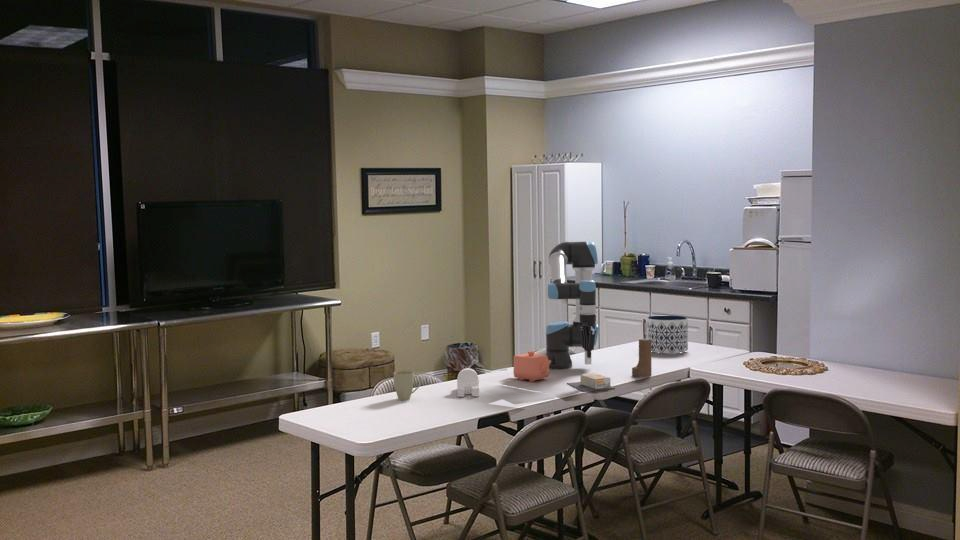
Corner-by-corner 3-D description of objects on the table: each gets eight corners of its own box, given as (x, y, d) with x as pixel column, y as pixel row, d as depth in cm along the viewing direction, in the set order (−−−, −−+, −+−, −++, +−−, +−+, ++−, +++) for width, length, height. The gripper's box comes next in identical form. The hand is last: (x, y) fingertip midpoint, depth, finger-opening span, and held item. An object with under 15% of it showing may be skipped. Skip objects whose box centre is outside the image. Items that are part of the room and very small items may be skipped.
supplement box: (580, 384, 403) (595, 389, 391) (580, 374, 403) (595, 379, 391) (595, 383, 406) (610, 388, 394) (595, 372, 406) (610, 377, 394)
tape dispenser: (457, 396, 385) (457, 372, 384) (457, 388, 403) (457, 365, 402) (479, 396, 385) (478, 372, 384) (478, 388, 403) (477, 365, 402)
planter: (647, 356, 481) (647, 320, 480) (646, 349, 503) (646, 315, 502) (689, 356, 477) (689, 320, 476) (686, 350, 499) (686, 315, 498)
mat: (566, 384, 407) (566, 383, 407) (597, 381, 412) (597, 380, 412) (583, 391, 390) (583, 390, 390) (615, 388, 395) (615, 387, 395)
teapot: (558, 381, 414) (558, 352, 413) (541, 385, 405) (541, 355, 404) (523, 376, 429) (522, 347, 428) (506, 379, 420) (506, 351, 419)
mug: (408, 402, 373) (407, 375, 372) (389, 400, 378) (389, 373, 377) (422, 398, 382) (422, 371, 381) (404, 395, 387) (404, 369, 386)
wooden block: (638, 378, 419) (638, 341, 418) (631, 376, 423) (631, 340, 421) (651, 376, 424) (651, 339, 423) (645, 374, 428) (645, 338, 426)
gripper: (574, 312, 406) (574, 362, 408) (586, 315, 394) (586, 367, 395) (589, 311, 408) (589, 361, 410) (601, 314, 396) (601, 365, 397)
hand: (588, 364), depth 403 cm, fingers closed
